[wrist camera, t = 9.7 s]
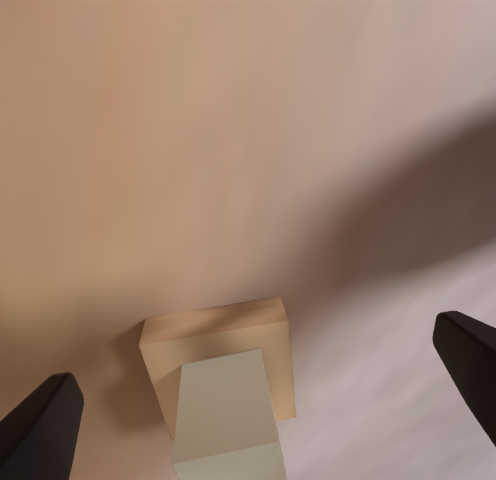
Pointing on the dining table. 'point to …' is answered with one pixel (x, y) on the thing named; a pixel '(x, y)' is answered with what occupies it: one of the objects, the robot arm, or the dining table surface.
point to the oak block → (219, 349)
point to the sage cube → (227, 421)
